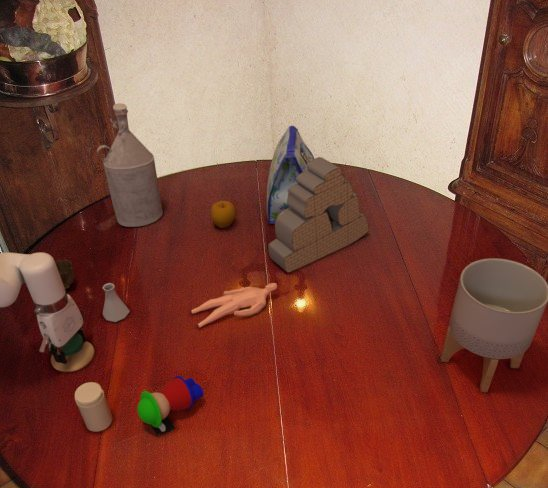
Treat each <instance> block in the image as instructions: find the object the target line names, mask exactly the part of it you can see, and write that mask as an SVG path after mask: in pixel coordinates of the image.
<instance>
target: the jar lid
mask: <svg viewBox="0 0 548 488" xmlns="http://www.w3.org/2000/svg"><path fill="white" fill-rule="evenodd" d="M83 345H84V341H83V338H82V336H81V335H80V334H79V333H77V332H76V333H75V334H74V335H73V336H72V337H71V339H70V340H69V341H68V342H67V343H66V344H65V345H63V346H62V347H61V352H63V353H64V355H65V356H71V355H74V354H76V353H78V352H79V351H80V350H81V349H82V348H83ZM54 348H55V349H56V346H55V345H54Z"/></svg>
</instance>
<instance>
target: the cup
mask: <svg viewBox="0 0 548 488" xmlns="http://www.w3.org/2000/svg"><path fill="white" fill-rule="evenodd" d="M54 261H55V263H56V266H57V269H58V272H59V274H60V277H61V280H62V282H63V285H64V288H65V291H68V290H71V288H72V286H73V282H74V279H75V273H74V268H73V263H72V262H71V260H68V259H66V258H65V259H64V260H61V259H57V260H54Z"/></svg>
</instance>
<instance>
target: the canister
mask: <svg viewBox="0 0 548 488" xmlns="http://www.w3.org/2000/svg"><path fill="white" fill-rule="evenodd" d="M112 109H113V111H114V115H115V118H116V119H114V120H113V118H110V119H109V120H110V122H111V123H112V128H114V129H115V130H117V129H118V132H117V134H116V135H115V139H114V140H113V142H112V143H111V144H112V145H111V146H110V147H109V146H108V145H106V144H101V145H99V146H98V147H97V149H96V153H97V154H96V155H97V158H99V159H100V160H103V161H102V164H103V168H104V172H105V177H106V182H107V187H108V190H109V194H110V199H111V201H112V208H113V211H114V214H115V217H116V222H117V223H118V224H119V225H120V226H123V227H126V228H137V227H144V226H148V225H150V224H153V223H155V222H157V221H158V220H160V218H161V217H162V216H163V213H164V210H163V206H162V200H161V199H162V198H161V192H160V186H159V182H158V181H159V180H158V175H157V168H156V162H155V156H154V154H153V153H152V152H151V151H150V149H148V148H147V147H146V146H145V144H143V143H142V142H141V140H139V138H138V137H137V136H135V134H134V133H132V131H131V130H130V128H129V120H128V112H129V110H128V106H127V105H126V104H124V103H120V102H119V103H115V104H113V105H112ZM104 148H105V149H108V152H107V154H106V156H105V157H101V156H99V151H100V150H101V149H104Z"/></svg>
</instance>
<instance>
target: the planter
mask: <svg viewBox="0 0 548 488" xmlns="http://www.w3.org/2000/svg"><path fill="white" fill-rule="evenodd" d="M547 305H548V282H547V281H546V279H545V278H544V277H543V276H542V274H540V273H539V272H537V271H536V270H534V269H533V268H531V267H529V266H528V265H525V264H523V263H520V262H518V261H514V260H510V259H506V258H498V257H497V258H495V257H493V258H483V259H478V260H475V261H473V262H470V263H469V264H467V266H465V267H464V268H463V270H462V272H461V273H460V277H459V281H458V284H457V289H456V292H455V297H454V301H453V305H452V308H451V312H450V316H449V321H448V327H447V329H446V333H445V337H444V342H443V345H442V348H441V349H442V350H441V354H440V362H441V363H449V362H450V359H451V358H452V357H453V356H454V355H455V354H456V353H457V352H458V351H461V350H462V349H466V350H467V351H469V352H470V353H473V354H474V355H477V356H481V357H482V361H483V363H482V372H481V378H480V384H479V390H480V392H481V393H482V392H483V393H488V392H489V388H490V386H491V384H492V380H493V377H494V374H495V372H496V369H497V366H498V363H499V360H507V359H510V362H509V366H510V368H511V369H519V368H520V365H521V363H522V360H523V358H524V355H525V353H526V351H527V350H529V348H530V347H531V344H532V342H533V339H534V337H535V335H536V332H537V329H538V327H539V325H540V322H541V319H542V317H543V314H544V312H545V310H546V308H547Z"/></svg>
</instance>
